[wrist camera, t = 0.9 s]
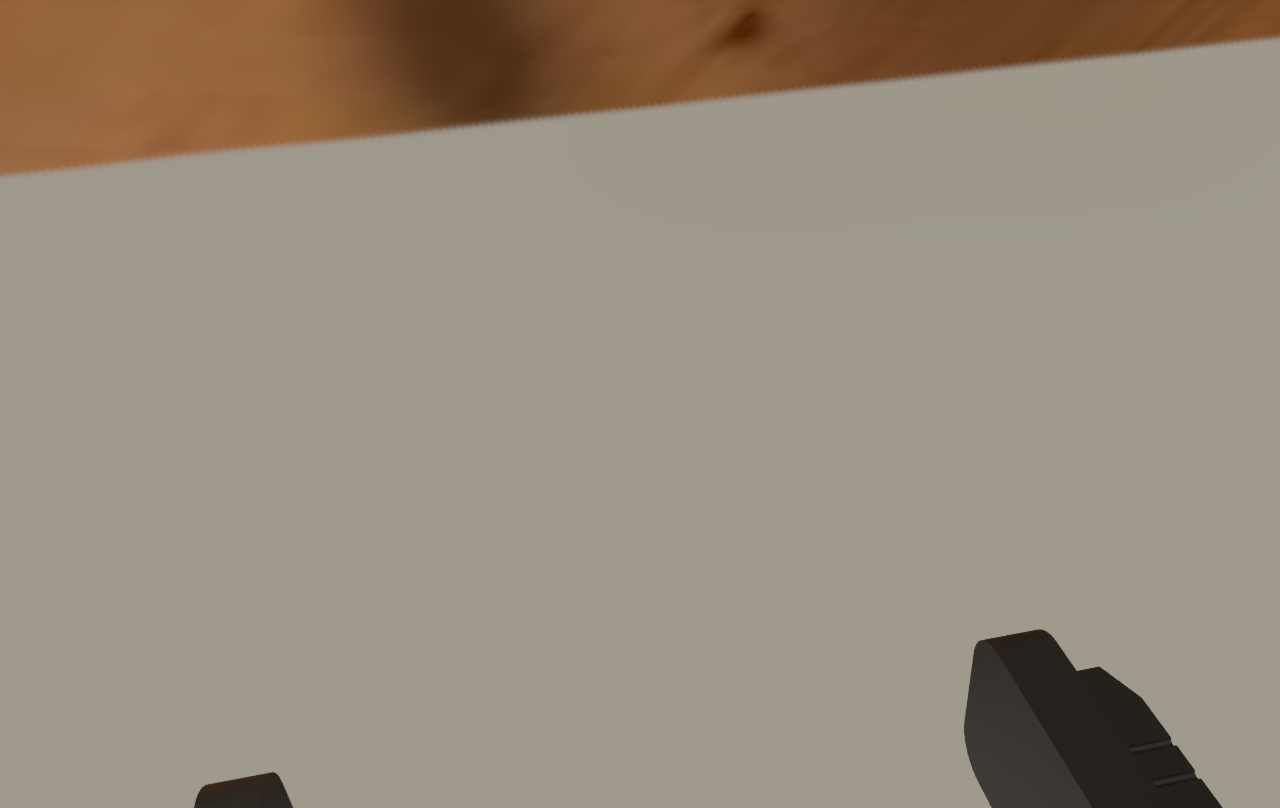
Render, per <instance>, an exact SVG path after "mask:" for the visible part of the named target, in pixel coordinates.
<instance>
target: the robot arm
mask: <svg viewBox="0 0 1280 808" xmlns="http://www.w3.org/2000/svg"><path fill="white" fill-rule="evenodd" d="M964 734H965V742H966V748H967V752H968V756H969V759H970V763H971V766H972V768H973V771H974V773H975V776H976V778H977V780H978V782H979V784H980V786H981V788H982V790H983V792H984V793H985V796H986V798H987V799H988V801H989V803H990V805H991V807H992V808H1222V806H1221V805H1220V804H1219V802H1218V801H1217V800H1216V798H1215V797H1214V796H1213V794H1212V793H1211V791H1210V790H1209V789H1208V787H1207V786H1206V785H1205V783H1204V782H1203V781H1202V779H1198V778H1197V777H1196V775H1195V770H1194V768H1193V767H1192V766H1191V764H1190V763H1189V762H1188V760H1187V759H1186V757H1185V756H1184V755H1183V753H1182V752H1181V751H1180V749H1179V748H1178V747H1177V746H1174V745H1173V744H1172V742H1171V737H1170V736H1169V734H1168V733H1167V732H1166V730H1165V729H1164V728H1163V726H1162V725H1161V723H1160V722H1159V721H1158V720H1157V718H1156V717H1155V715H1154V714H1153V713H1152V712H1151V710H1150V708H1149V707H1148V706H1147V704H1146V703H1145V702H1144V700H1143V699H1142V698H1141V697H1140V696H1138V695H1137V694H1136V693H1134V692H1133V691H1132V690H1130V689H1129V688H1128V687H1126V686H1125V685H1124V684H1122V683H1121V682H1120V681H1118V680H1117V679H1115V678H1114V677H1113V676H1111V675H1110V674H1109V673H1107V672H1106V671H1105V670H1103V669H1102V668H1100V667H1095V668H1090V669H1085V670H1080V671H1076V669H1075V668H1074V667H1073V665H1072V664H1071V662H1070V661H1069V659H1068V658H1067V656H1066V655H1065V653H1064V652H1063V651H1062V649H1061V648H1060V646H1059V645H1058V643H1057V642H1056V641H1055V639H1054V638H1053V637H1052V636H1051V635H1050V634H1049V633H1047V632H1046V631H1044V630H1033V631H1028V632H1023V633H1018V634H1012V635H1007V636H1001V637H996V638H991V639H986V640H981V641H979V642H978V643H977V644H976V647H975V650H974V655H973V664H972V670H971V678H970V685H969V693H968V700H967V708H966V715H965V723H964ZM194 808H293V807H292V804H291V802H290V799H289V797H288V795H287V793H286V790H285V788H284V786H283V783H282V781H281V779H280V778H279V776H278V775H277V774H276V773H273V772H272V773H266V774H261V775H256V776H250V777H245V778H240V779H235V780H229V781H224V782H219V783H213V784H208V785H205V786H203V787H202V788H201V790H200V792H199V793H198V796H197V799H196V802H195V806H194Z"/></svg>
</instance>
